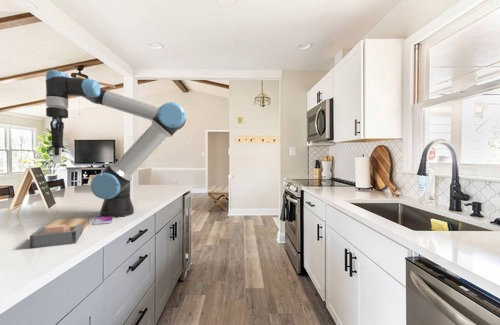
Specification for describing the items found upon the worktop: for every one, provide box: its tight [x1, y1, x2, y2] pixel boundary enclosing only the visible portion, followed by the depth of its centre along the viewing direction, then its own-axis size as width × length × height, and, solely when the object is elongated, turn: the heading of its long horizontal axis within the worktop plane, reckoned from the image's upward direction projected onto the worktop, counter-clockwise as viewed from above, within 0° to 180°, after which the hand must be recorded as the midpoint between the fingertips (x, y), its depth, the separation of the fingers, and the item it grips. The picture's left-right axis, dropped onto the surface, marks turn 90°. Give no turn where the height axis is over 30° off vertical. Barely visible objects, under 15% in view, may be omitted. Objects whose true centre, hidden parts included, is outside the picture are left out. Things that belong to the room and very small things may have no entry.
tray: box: [29, 223, 83, 249], centre depth 86 cm, size 12×11×4 cm
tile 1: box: [45, 224, 66, 234], centre depth 83 cm, size 5×5×3 cm
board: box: [44, 216, 89, 234], centre depth 97 cm, size 12×14×3 cm
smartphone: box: [92, 216, 114, 226], centre depth 113 cm, size 7×1×15 cm
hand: (57, 162), depth 107 cm, fingers closed
